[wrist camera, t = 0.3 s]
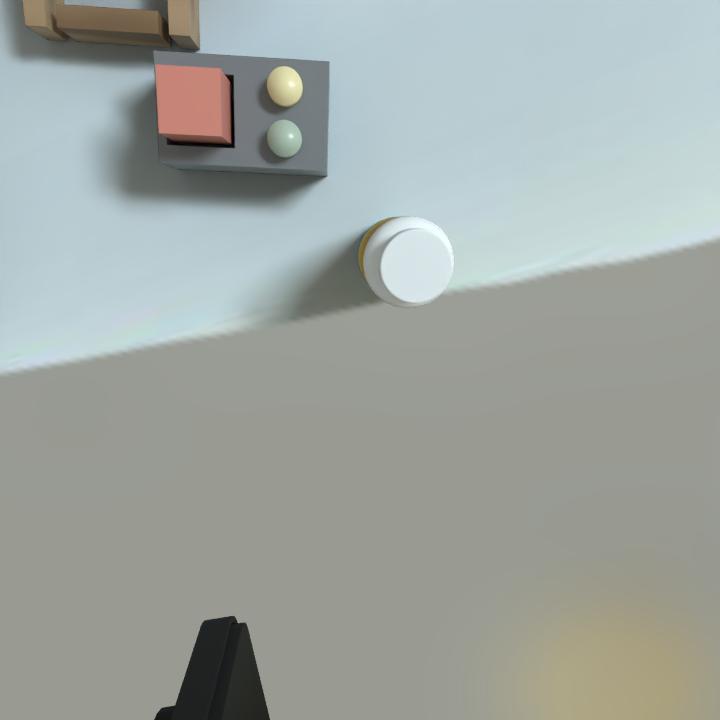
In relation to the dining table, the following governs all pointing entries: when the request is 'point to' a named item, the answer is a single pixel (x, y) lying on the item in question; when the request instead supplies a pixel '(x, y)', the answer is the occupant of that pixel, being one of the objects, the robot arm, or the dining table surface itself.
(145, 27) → the wooden square frame
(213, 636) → the robot arm
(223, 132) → the button
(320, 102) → the grey button box
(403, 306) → the supplement bottle
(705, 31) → the dining table surface
